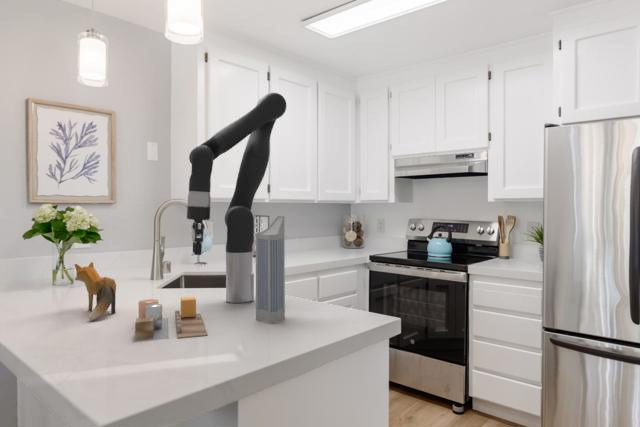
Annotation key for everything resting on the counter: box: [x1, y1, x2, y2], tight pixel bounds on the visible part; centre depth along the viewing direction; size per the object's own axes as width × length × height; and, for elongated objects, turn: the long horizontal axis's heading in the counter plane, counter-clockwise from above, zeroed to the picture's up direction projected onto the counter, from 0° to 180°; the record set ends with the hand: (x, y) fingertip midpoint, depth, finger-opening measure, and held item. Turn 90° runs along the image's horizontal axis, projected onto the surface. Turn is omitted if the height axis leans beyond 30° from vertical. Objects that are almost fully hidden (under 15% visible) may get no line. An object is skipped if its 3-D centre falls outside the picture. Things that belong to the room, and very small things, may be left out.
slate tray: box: [132, 317, 170, 343], centre depth 113 cm, size 8×21×1 cm, turn 20°
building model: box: [254, 215, 286, 325], centre depth 126 cm, size 8×8×30 cm
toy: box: [74, 261, 117, 321], centre depth 133 cm, size 11×29×15 cm, turn 43°
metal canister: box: [146, 303, 163, 330], centre depth 113 cm, size 4×4×6 cm
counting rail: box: [174, 310, 209, 339], centre depth 116 cm, size 23×7×3 cm, turn 20°
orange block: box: [180, 296, 197, 318], centre depth 124 cm, size 4×4×5 cm
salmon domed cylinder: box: [138, 298, 159, 318], centre depth 118 cm, size 5×5×6 cm
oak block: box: [134, 317, 154, 339], centre depth 106 cm, size 4×4×4 cm
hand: (196, 253), depth 146 cm, fingers open, 8 cm apart
